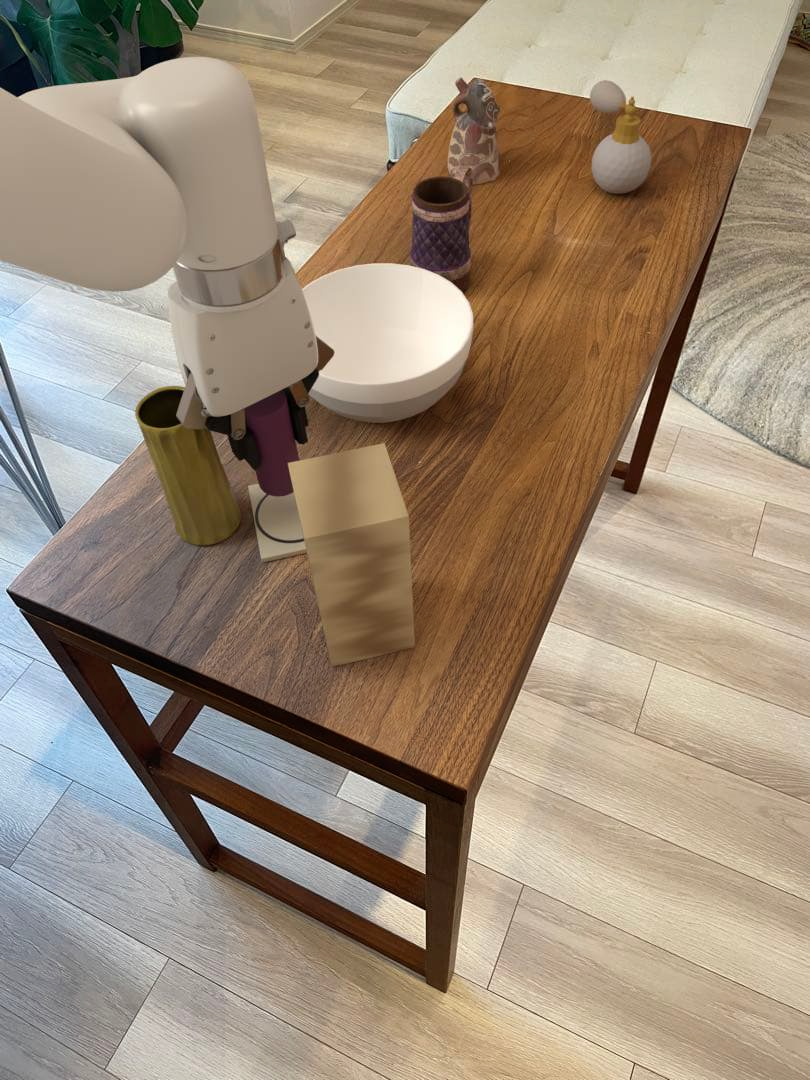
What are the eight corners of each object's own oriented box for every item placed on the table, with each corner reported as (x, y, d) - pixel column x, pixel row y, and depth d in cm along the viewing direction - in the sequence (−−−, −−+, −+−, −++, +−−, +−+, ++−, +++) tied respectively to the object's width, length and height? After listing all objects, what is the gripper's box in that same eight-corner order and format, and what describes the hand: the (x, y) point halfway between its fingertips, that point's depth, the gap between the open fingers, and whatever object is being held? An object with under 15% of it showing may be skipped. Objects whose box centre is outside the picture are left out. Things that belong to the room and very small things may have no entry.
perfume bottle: (632, 209, 107) (651, 114, 97) (563, 190, 110) (574, 96, 101) (654, 181, 111) (673, 87, 101) (586, 164, 114) (599, 72, 104)
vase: (236, 546, 75) (198, 433, 64) (170, 547, 75) (120, 435, 64) (246, 495, 79) (211, 380, 68) (182, 496, 79) (137, 382, 68)
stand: (331, 667, 67) (304, 538, 54) (316, 598, 72) (287, 462, 58) (415, 647, 68) (409, 516, 55) (395, 580, 72) (384, 442, 59)
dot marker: (263, 506, 74) (240, 421, 66) (257, 474, 77) (234, 388, 68) (307, 497, 75) (289, 411, 67) (300, 466, 77) (282, 379, 69)
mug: (451, 307, 96) (452, 211, 86) (399, 289, 98) (394, 193, 88) (493, 262, 101) (499, 166, 91) (442, 246, 103) (443, 151, 94)
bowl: (256, 412, 86) (240, 345, 79) (354, 312, 96) (347, 244, 89) (414, 477, 80) (411, 410, 73) (502, 363, 89) (507, 294, 82)
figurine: (488, 189, 111) (492, 96, 101) (439, 179, 113) (439, 87, 103) (507, 163, 115) (512, 72, 105) (459, 154, 117) (460, 63, 107)
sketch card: (262, 562, 74) (260, 558, 73) (249, 489, 79) (247, 484, 79) (382, 536, 75) (381, 532, 75) (361, 466, 81) (360, 461, 80)
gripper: (302, 197, 62) (330, 383, 77) (93, 283, 56) (166, 466, 71) (358, 241, 58) (376, 428, 73) (140, 339, 53) (207, 520, 67)
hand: (272, 445), depth 72 cm, fingers closed on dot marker, 4 cm apart
